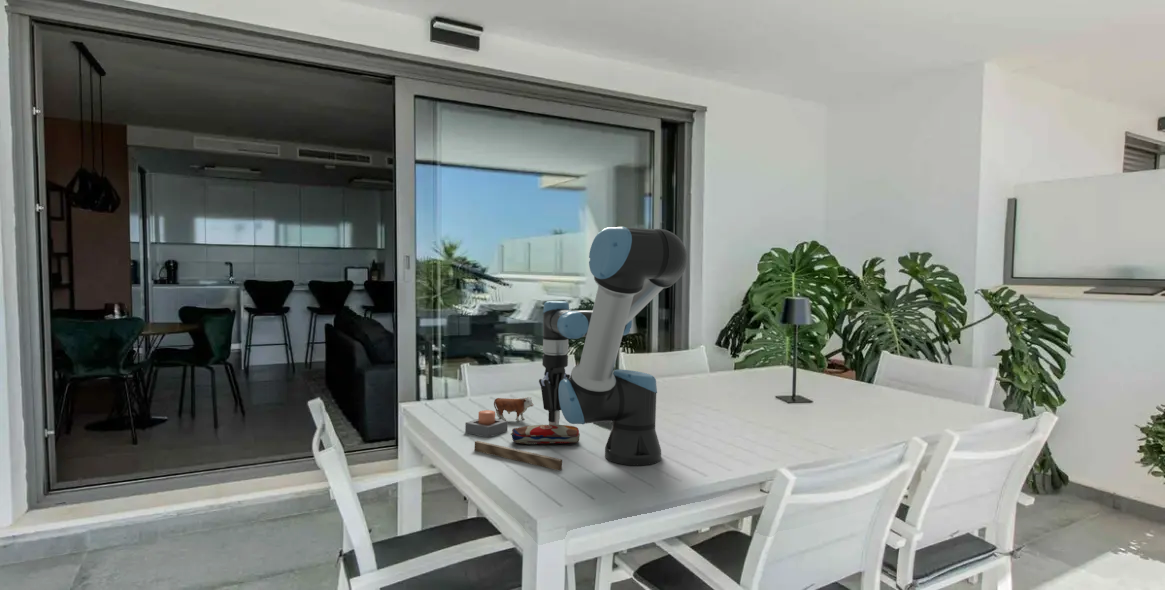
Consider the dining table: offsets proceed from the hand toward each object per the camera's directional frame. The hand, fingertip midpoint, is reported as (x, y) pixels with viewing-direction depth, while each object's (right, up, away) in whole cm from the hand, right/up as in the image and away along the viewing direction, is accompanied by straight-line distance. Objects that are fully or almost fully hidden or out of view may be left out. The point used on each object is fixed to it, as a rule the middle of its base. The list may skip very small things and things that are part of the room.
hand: (553, 432), depth 183 cm
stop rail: (-9, -2, -22) cm, 23 cm away
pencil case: (-2, -2, -5) cm, 6 cm away
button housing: (-21, -1, +5) cm, 21 cm away
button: (-21, +1, +5) cm, 21 cm away
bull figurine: (-14, -1, +19) cm, 24 cm away
